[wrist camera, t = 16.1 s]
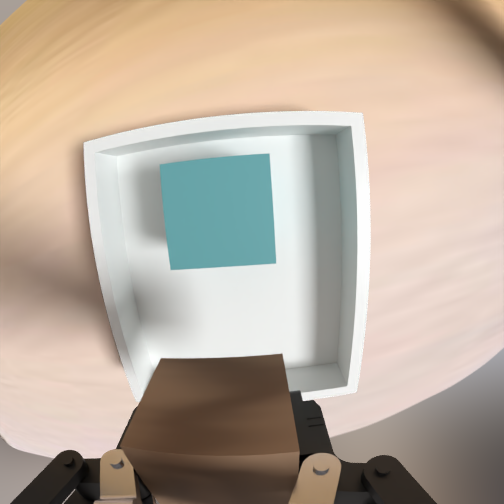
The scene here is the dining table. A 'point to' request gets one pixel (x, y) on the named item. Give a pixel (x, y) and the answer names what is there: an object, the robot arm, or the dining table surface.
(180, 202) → the teal block
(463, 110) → the dining table surface
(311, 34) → the dining table surface
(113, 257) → the white tray
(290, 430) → the walnut block
